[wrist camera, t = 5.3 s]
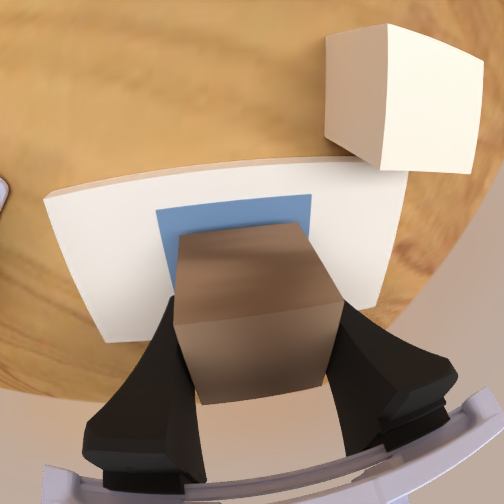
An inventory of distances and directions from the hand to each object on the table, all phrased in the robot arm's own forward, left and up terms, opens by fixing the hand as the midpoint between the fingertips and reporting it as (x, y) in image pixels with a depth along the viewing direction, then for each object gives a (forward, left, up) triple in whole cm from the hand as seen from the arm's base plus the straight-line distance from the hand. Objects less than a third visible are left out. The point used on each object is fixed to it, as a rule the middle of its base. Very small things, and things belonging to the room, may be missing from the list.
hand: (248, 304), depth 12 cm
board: (0, 0, -4) cm, 4 cm away
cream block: (-2, +11, -4) cm, 12 cm away
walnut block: (0, 0, -2) cm, 2 cm away
